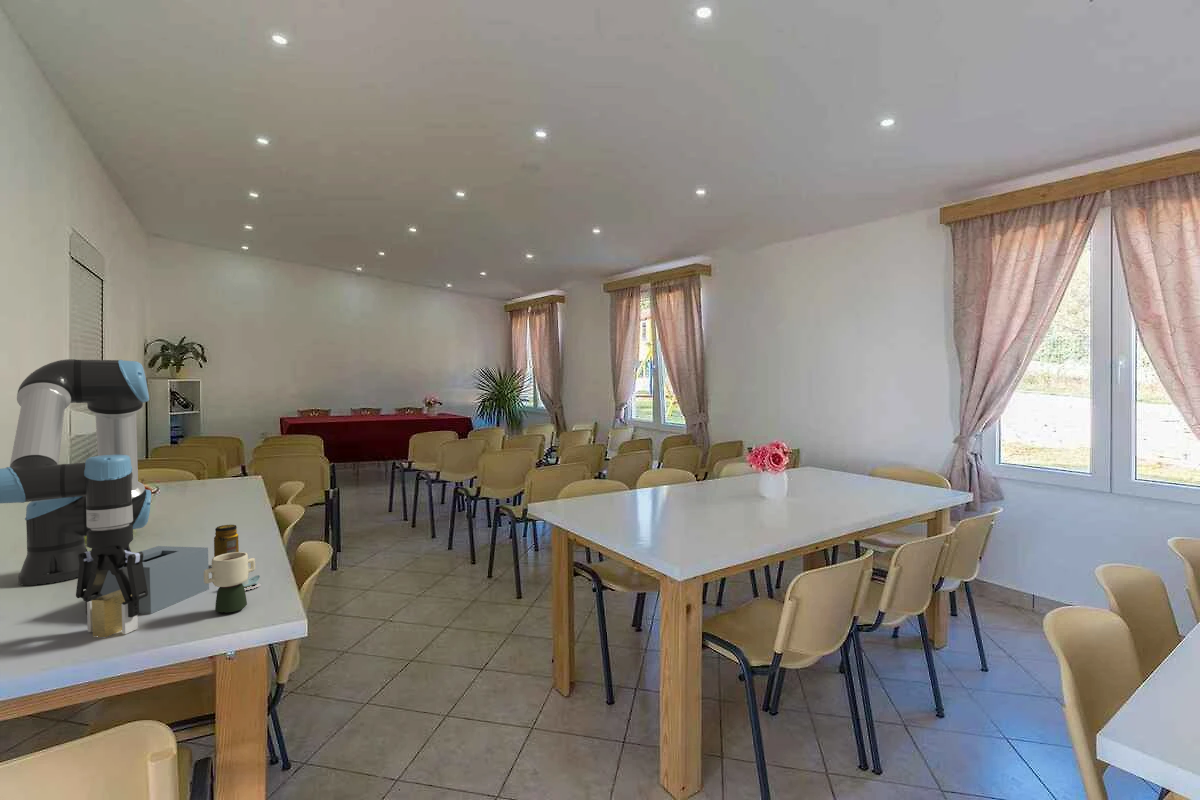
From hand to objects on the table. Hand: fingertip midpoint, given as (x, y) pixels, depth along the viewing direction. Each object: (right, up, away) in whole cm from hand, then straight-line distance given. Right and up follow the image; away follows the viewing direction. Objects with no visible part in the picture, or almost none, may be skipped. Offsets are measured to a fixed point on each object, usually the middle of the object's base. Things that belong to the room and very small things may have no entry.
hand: (112, 630), depth 118 cm
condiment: (-5, 0, +43) cm, 44 cm away
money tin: (-6, 0, +18) cm, 19 cm away
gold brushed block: (0, 0, 0) cm, 0 cm away
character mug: (+19, 0, +11) cm, 21 cm away
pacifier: (+13, 0, +25) cm, 28 cm away
